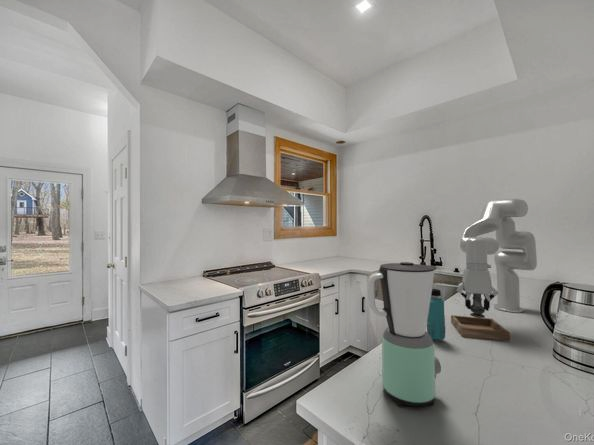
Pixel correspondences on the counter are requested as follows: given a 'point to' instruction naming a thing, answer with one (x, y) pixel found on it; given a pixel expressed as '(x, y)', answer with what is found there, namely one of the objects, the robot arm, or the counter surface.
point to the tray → (480, 328)
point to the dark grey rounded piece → (477, 306)
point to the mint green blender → (406, 332)
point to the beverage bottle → (436, 317)
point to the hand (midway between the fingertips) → (477, 308)
